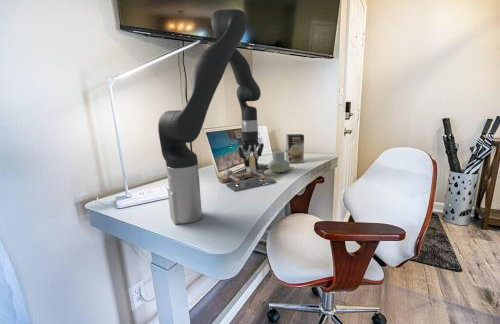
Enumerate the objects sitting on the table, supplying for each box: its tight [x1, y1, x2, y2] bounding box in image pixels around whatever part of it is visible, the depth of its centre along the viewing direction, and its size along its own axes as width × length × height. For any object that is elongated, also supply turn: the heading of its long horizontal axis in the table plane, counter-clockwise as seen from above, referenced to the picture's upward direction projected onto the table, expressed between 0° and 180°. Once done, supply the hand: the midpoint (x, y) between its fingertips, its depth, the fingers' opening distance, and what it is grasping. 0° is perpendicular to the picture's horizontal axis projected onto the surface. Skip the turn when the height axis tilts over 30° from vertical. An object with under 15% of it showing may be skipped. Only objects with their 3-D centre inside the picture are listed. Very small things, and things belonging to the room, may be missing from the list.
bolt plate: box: [225, 175, 276, 192], centre depth 112 cm, size 20×8×1 cm, turn 119°
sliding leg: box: [245, 154, 265, 179], centre depth 118 cm, size 3×13×8 cm, turn 29°
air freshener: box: [267, 150, 291, 173], centre depth 130 cm, size 11×8×10 cm
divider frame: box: [218, 168, 265, 184], centre depth 117 cm, size 22×13×5 cm, turn 119°
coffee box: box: [285, 133, 305, 165], centre depth 147 cm, size 9×6×16 cm
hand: (251, 166), depth 122 cm, fingers open, 4 cm apart
